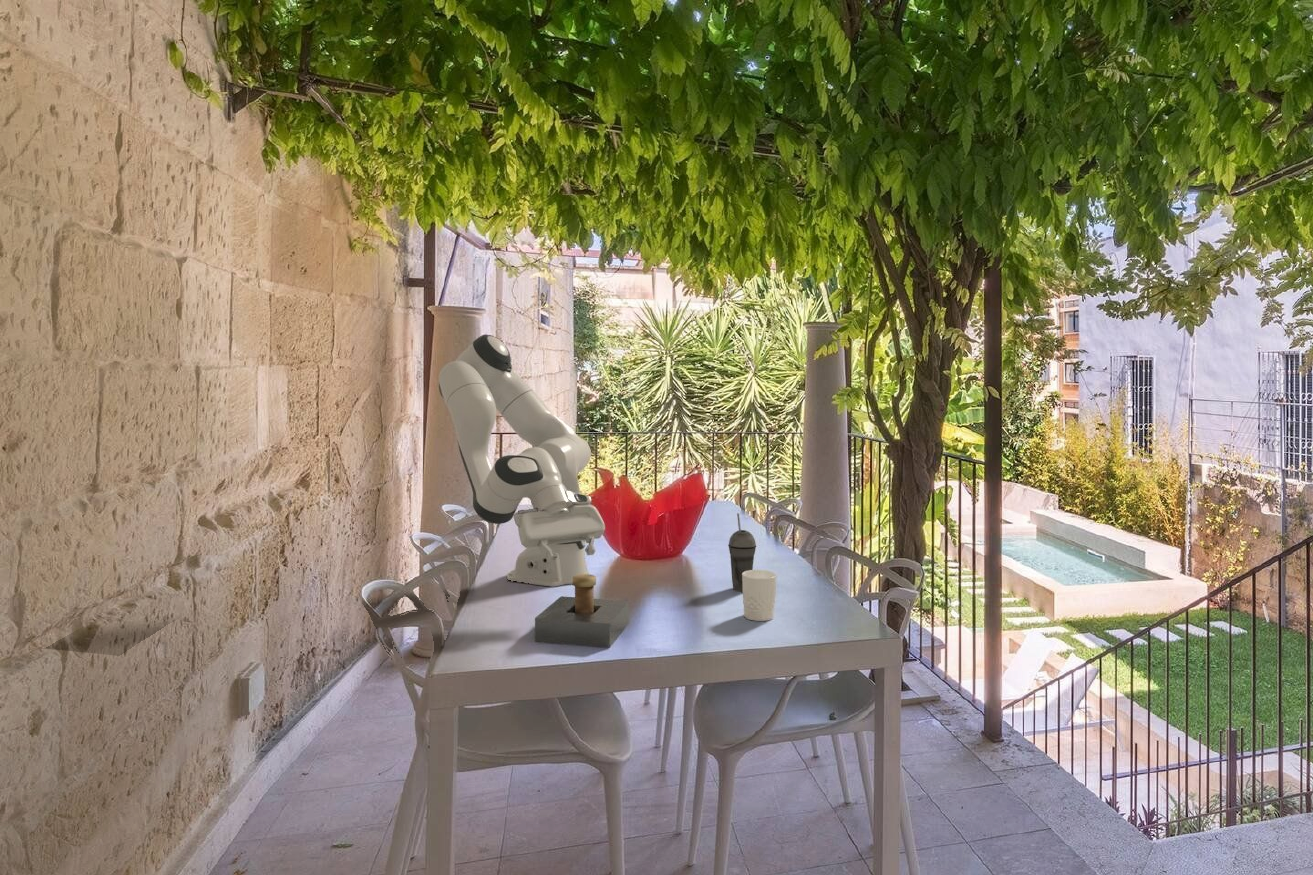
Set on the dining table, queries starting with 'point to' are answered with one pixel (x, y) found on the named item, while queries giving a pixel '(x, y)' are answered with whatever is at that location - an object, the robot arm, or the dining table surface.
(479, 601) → the dining table surface
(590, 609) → the brass pin
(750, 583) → the white cup
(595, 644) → the hitch block
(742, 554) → the beverage cup
